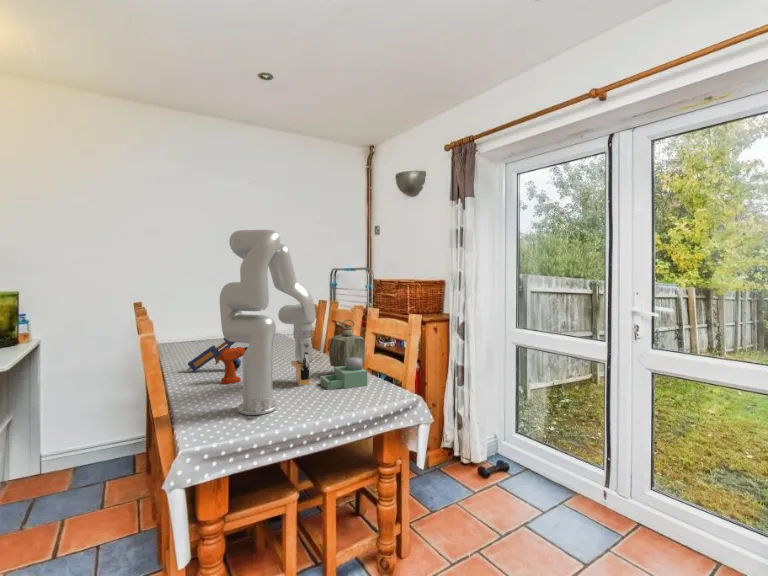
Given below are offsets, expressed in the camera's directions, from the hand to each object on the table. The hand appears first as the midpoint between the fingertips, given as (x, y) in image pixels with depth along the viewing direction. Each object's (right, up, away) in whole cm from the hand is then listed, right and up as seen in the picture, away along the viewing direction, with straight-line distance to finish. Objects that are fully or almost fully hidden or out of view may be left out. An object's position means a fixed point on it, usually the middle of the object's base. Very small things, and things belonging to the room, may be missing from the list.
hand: (302, 377), depth 165 cm
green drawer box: (+17, -3, 0) cm, 17 cm away
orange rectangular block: (0, -3, 0) cm, 3 cm away
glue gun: (-44, -2, +18) cm, 48 cm away
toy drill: (-26, -2, +3) cm, 27 cm away
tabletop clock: (+17, -2, +14) cm, 23 cm away
